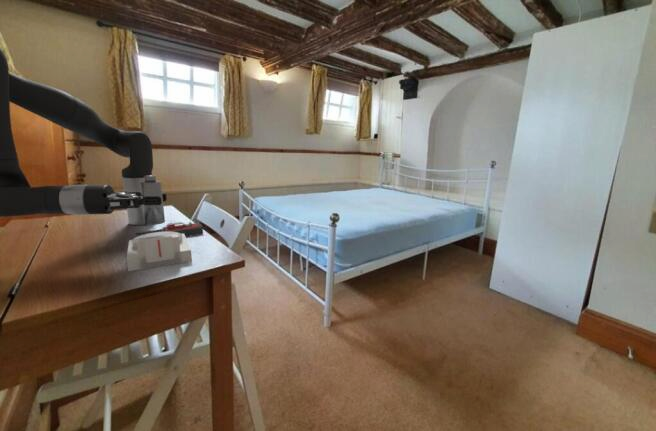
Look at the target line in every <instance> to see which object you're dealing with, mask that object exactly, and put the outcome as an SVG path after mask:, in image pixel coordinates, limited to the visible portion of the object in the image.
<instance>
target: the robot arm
mask: <svg viewBox="0 0 656 431" xmlns="http://www.w3.org/2000/svg"><path fill="white" fill-rule="evenodd" d="M9 70H10V69H9V63H8V58H7V57H6V54H5V52H3V50H2V49H1V48H0V218H4V217H5V218H6V217H20V216H32V215H75V216H76V215H79V216H81V215H82V216H85V215H86V216H87V215H111V214H112V213H113V212H114V211H115V210H123V209H125V210H126V212H127V213H126V214H127V218H128V219H127V220H128V224H129V225H132V226H143V225H144V226H145V225H146V224H145V223H144V215H143V206H145V205H161V204H162V198H161V197H160V196H145V197H144V196H141V189H140V182H144V181H145V180H144V176H151V175H152V176H153V170H154V156H153V144H152V141H151V139H150V137H149V136H148V134H146V133H145V132H143V131H138V130H137V131H136V130H135V131H134V130H133V131H132V130H127V131H126V130H122V129H119V128H117V127H114V126H113V125H110V124H109V123H106V122H105V121H103V119H102V118H101V117H100V116H99V115H98V113H97V112H96V111H95V110H94V109H93V108H92V107H90V105H88V104H87V103H86V102H83V101H81V100H80V99H79V98H77V97H75V96H73V95H72V94H69V93H68V92H66V91H63V90H61V89H59V88H56V87H53V86H49V85H46V84H43V83H40V82H37V81H33V80H31V79H27V78H24V77H21V76H19V75H17V74H15V73H13V72H11V71H9ZM11 103H12V104H14V105H16V106H18V107H19V108H20V107H21V108H22V109H24V110H26V111H28V112H30V113H32V114H35V115H37V116H39V117H41V118H43V119H45V120H47V121H49V122H51V123H53V124H55V125H57V126H59V127H62V128H64V129H65V130H69V131H71V132H72V133H76V134H77V135H80V136H81V137H84V138H87V139H88V140H91V141H94V142H96V143H98V144H100V145H102V146H103V147H104V148H106V149H108V150H110V151H111V152H113V153H115V154H116V155H118V156H120V157H123V158H128V159H129V165H127V166H126V167H124V168H123V169H122V168H121V179H122V184H123V190H120V191H119V192H115V190H114V188H113V187H112V186H111V185H109V184H72V185H70V184H69V185H44V186H41V185H40V186H31V184H30V182H29V181H28V178H26V177H27V176H26V175H25V173H24V172H23V170H22V169H21V167H20V162H19V158H18V157H19V156H18V153H17V149H16V144H15V140H14V136H13V131H12V120H11V105H10V104H11ZM162 197H163V202H166V201H167V193H165V192H162Z"/></svg>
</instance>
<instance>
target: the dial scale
mask: <svg viewBox="0 0 656 431" xmlns="http://www.w3.org/2000/svg"><path fill="white" fill-rule="evenodd" d="M186 237H187V236H185V234H181V233H178V232H155V233H149V234H145V235H138V236H136V237H134V238H133V239H129V240H128V246H127V252H126V253H127V254H126V266H127V267H126V268H127V272H132V271H138V270H144V269H145V270H146V269H150V268H156V267H162V266H169V265H173V264H181V263H187V262H192V261H193V260H192V258H193V257H192V249H191V247H190V244H189V242H188V239H187V238H186Z"/></svg>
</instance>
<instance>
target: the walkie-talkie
mask: <svg viewBox="0 0 656 431" xmlns="http://www.w3.org/2000/svg"><path fill="white" fill-rule="evenodd" d="M155 232H178V233H181V234H185V237H191V236H190V235H192V236H196V235H195V234H199V235H202V233H203V234H204V228H203V225H202V223H200V222H193V223H192V222H191V221H188V223H184V222H182V221H179V222H178V221H177V222H170V223H168V224H167V225H166V226H163V227H162V228H160V229H154V230H146V231H139V232H136V233H135V235H136V237H138V236H141V235H145V234H149V233H155Z"/></svg>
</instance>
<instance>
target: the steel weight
mask: <svg viewBox="0 0 656 431" xmlns="http://www.w3.org/2000/svg"><path fill="white" fill-rule="evenodd" d="M144 180H145V181H144V182H140V189H141V196H144V197H145V196H160V197H161V198H162V204H161V205H145V206H143V215H144V223H145V225H147V226H155V225H160V224H161V225H162V224H165V222H166V218H165V210H164V209H165V208H164V201H163V197H162V193H163V188H162V181H160V180H157V177H156V175H153V174H152V175H151V176H144Z"/></svg>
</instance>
